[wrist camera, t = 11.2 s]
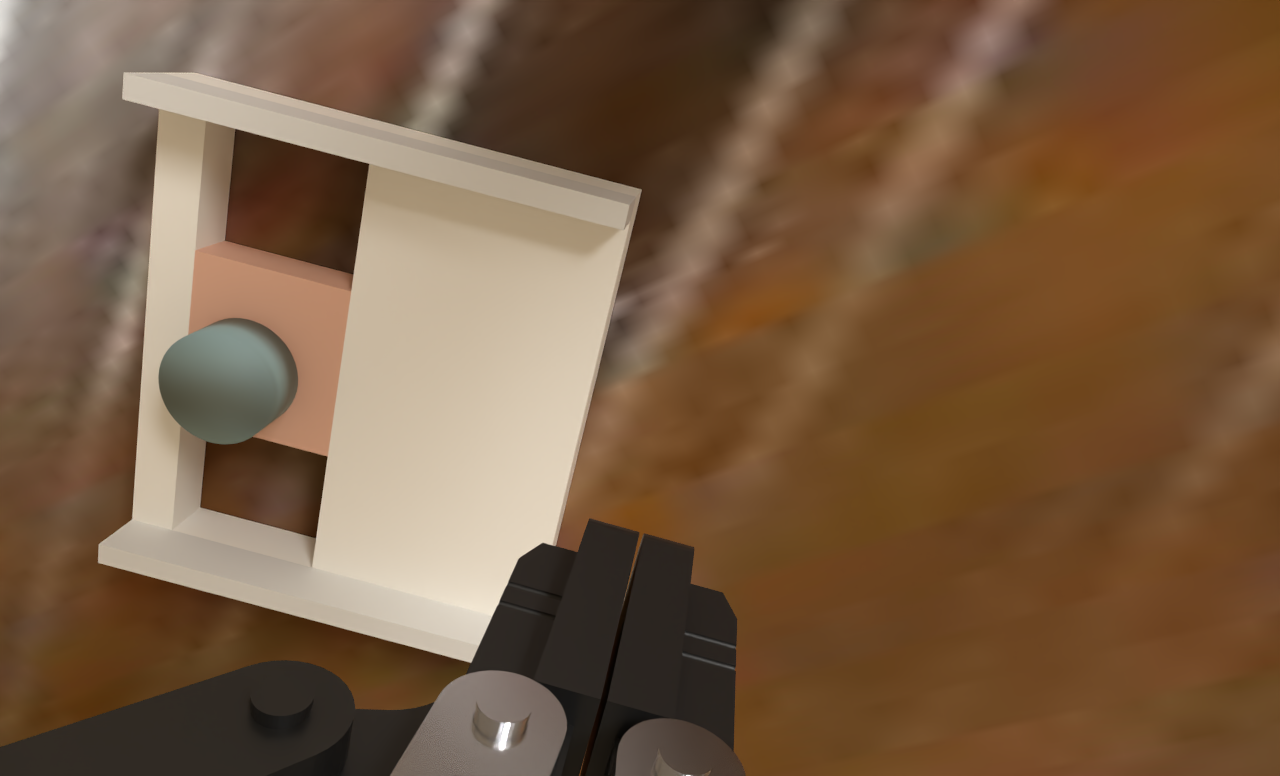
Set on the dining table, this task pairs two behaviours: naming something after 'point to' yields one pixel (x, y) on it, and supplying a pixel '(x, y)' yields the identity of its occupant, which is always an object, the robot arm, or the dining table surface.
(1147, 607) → the dining table surface
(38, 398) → the dining table surface
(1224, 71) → the dining table surface
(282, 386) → the puck
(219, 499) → the dining table surface
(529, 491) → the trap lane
